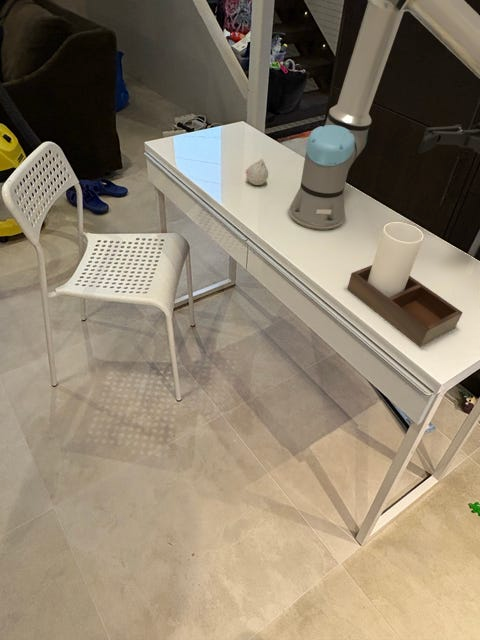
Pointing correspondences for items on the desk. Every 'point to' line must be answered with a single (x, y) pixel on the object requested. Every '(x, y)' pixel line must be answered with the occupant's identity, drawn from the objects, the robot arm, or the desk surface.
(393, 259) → the cup
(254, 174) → the garlic bulb
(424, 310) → the holder
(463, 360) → the desk surface
